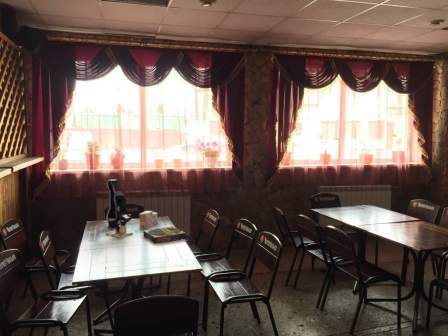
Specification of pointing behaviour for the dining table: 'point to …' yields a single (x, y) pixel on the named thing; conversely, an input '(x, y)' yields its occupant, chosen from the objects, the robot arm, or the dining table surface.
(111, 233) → the board
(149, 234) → the board game box
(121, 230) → the block
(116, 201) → the robot arm
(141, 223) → the stack of blocks
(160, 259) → the dining table surface
